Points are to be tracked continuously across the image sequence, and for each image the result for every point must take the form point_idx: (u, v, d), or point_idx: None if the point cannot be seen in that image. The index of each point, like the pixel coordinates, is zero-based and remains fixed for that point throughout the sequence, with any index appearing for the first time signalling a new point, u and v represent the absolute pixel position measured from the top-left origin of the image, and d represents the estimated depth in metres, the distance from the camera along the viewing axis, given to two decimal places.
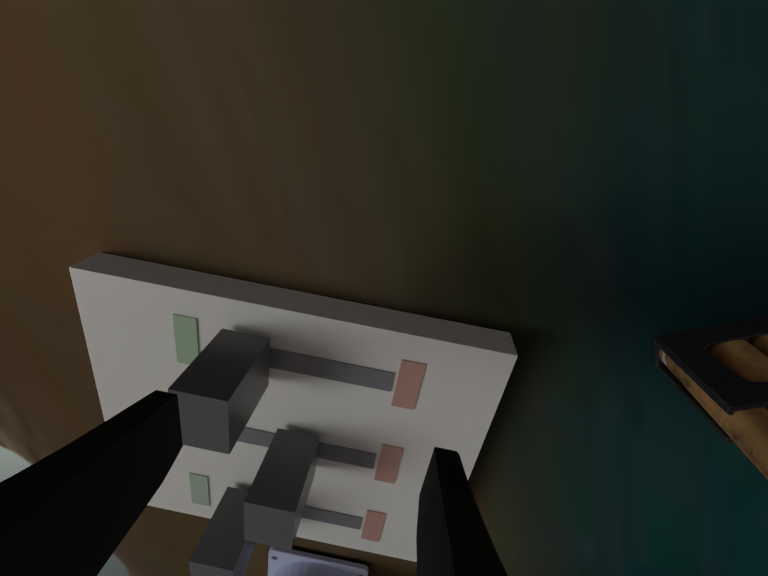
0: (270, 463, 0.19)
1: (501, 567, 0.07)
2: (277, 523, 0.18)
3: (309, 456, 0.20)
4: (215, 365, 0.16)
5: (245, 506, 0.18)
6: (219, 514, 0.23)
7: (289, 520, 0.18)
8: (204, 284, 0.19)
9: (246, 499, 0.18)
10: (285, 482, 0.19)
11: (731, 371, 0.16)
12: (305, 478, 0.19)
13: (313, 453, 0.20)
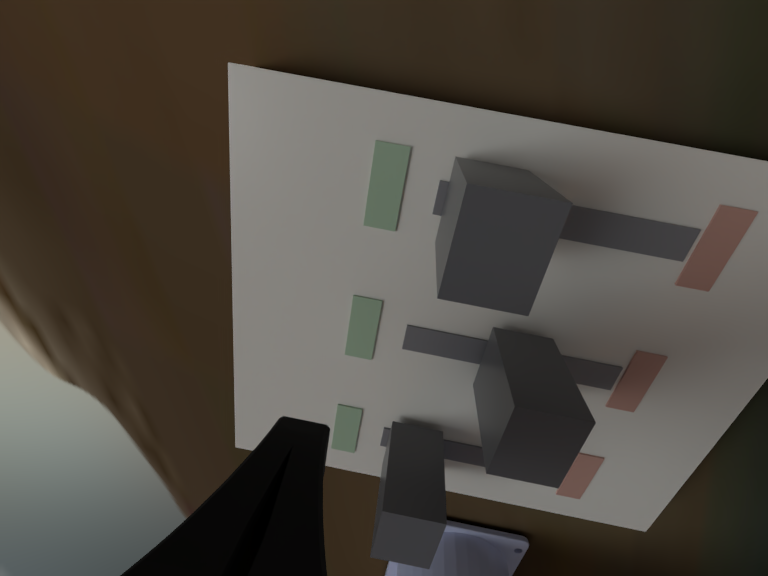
0: (514, 363, 0.13)
1: (318, 528, 0.07)
2: (556, 443, 0.12)
3: (558, 358, 0.14)
4: (497, 176, 0.10)
5: (514, 414, 0.11)
6: (397, 452, 0.16)
7: (579, 437, 0.12)
8: None
9: (516, 403, 0.11)
10: (551, 385, 0.12)
11: None
12: (574, 383, 0.13)
13: (559, 356, 0.14)
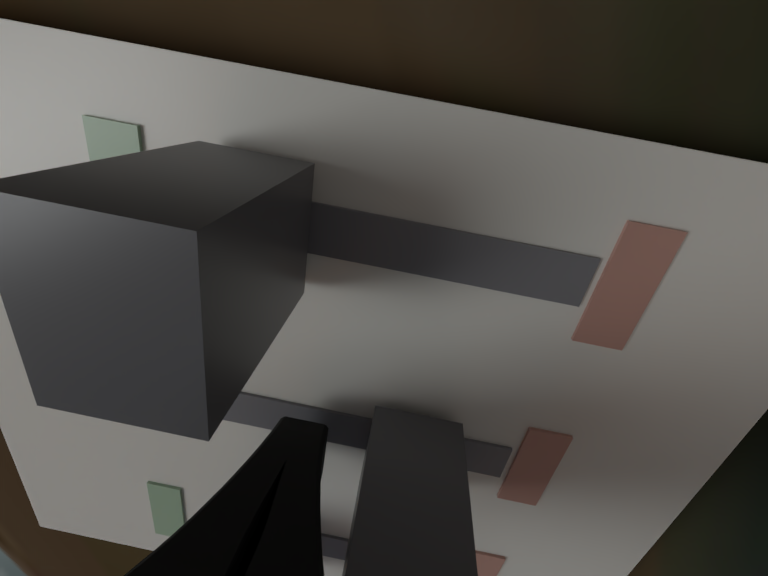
0: (381, 482, 0.08)
1: (316, 528, 0.07)
2: None
3: (458, 465, 0.09)
4: (166, 172, 0.05)
5: None
6: None
7: None
8: (159, 48, 0.08)
9: None
10: (428, 529, 0.08)
11: None
12: (469, 518, 0.08)
13: (463, 458, 0.09)
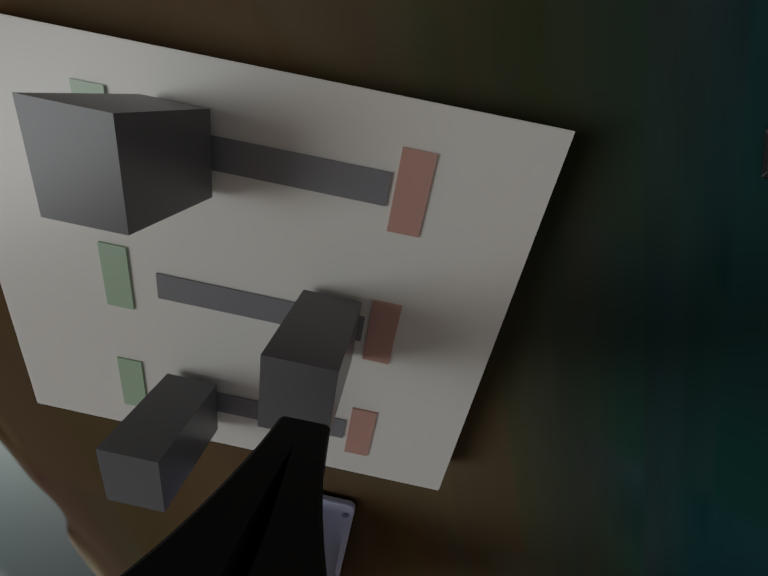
0: (296, 320, 0.13)
1: (318, 529, 0.07)
2: (310, 393, 0.12)
3: (351, 318, 0.14)
4: (109, 100, 0.10)
5: (262, 363, 0.12)
6: (151, 400, 0.17)
7: (329, 387, 0.12)
8: (118, 37, 0.13)
9: (264, 352, 0.12)
10: (320, 339, 0.13)
11: None
12: (348, 338, 0.13)
13: (355, 316, 0.14)
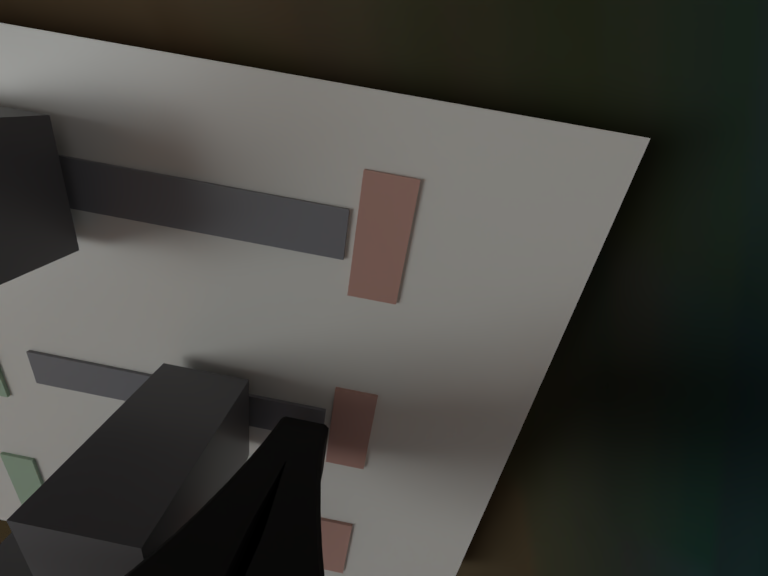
0: (120, 428, 0.09)
1: (316, 528, 0.07)
2: (107, 573, 0.07)
3: (217, 415, 0.09)
4: None
5: (16, 531, 0.07)
6: None
7: (133, 567, 0.07)
8: None
9: (17, 513, 0.07)
10: (141, 469, 0.08)
11: None
12: (195, 461, 0.08)
13: (228, 410, 0.10)
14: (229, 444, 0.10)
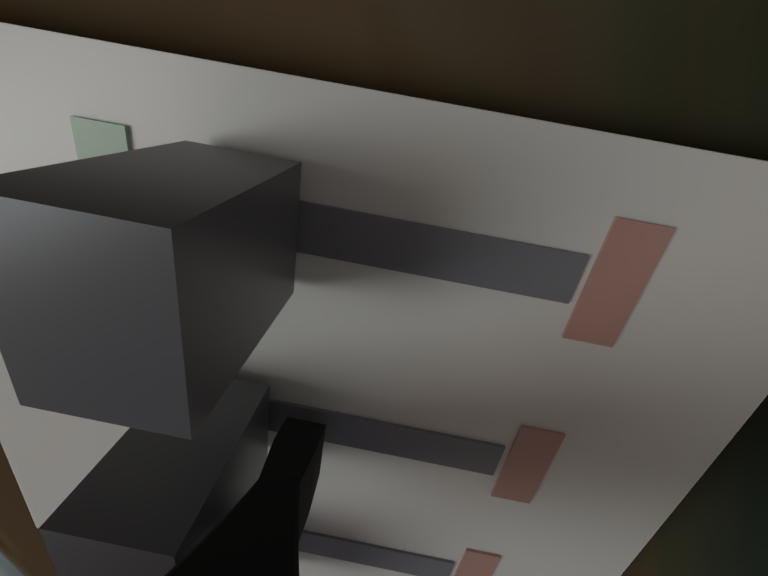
0: (145, 434, 0.09)
1: (293, 523, 0.07)
2: None
3: (240, 421, 0.09)
4: (148, 171, 0.05)
5: (47, 539, 0.07)
6: None
7: None
8: (146, 48, 0.08)
9: (49, 521, 0.07)
10: (169, 476, 0.08)
11: None
12: (221, 467, 0.08)
13: (250, 415, 0.10)
14: (251, 449, 0.10)
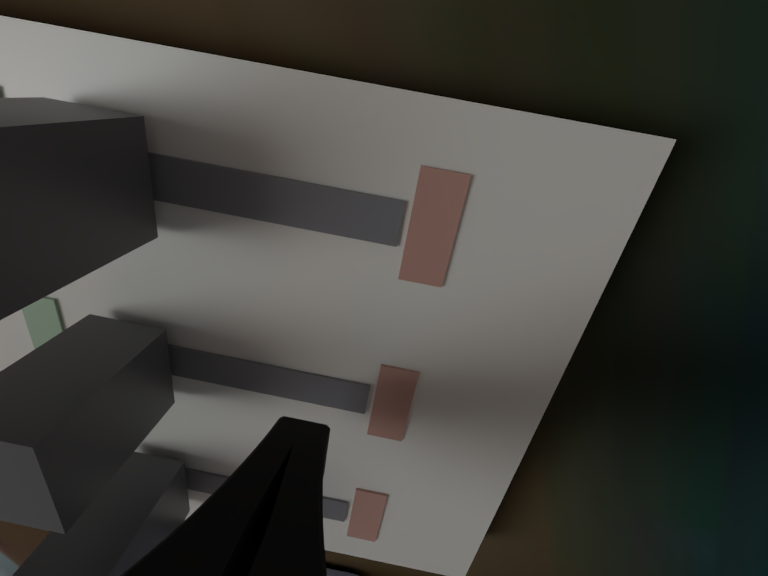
0: (36, 362, 0.10)
1: (318, 528, 0.07)
2: (10, 474, 0.08)
3: (128, 355, 0.10)
4: None
5: None
6: None
7: (31, 467, 0.08)
8: None
9: None
10: (47, 392, 0.09)
11: None
12: (98, 388, 0.09)
13: (139, 351, 0.11)
14: (144, 384, 0.11)
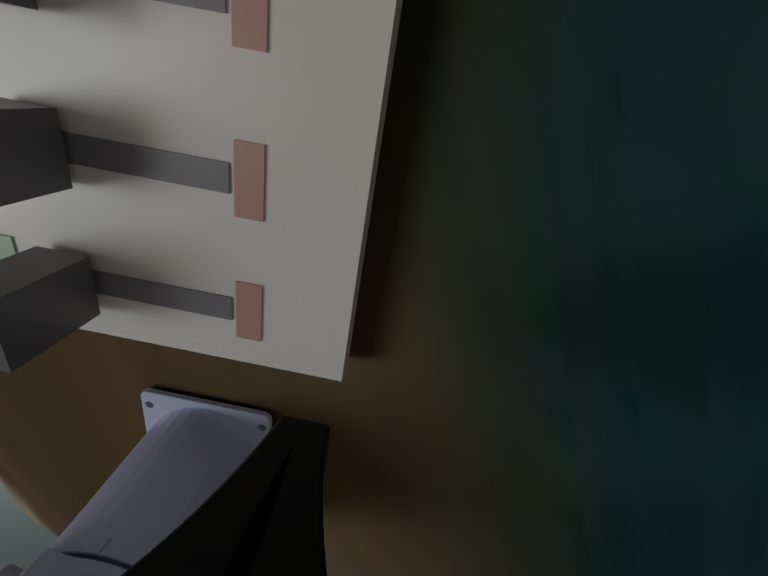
0: None
1: (318, 529, 0.07)
2: None
3: (15, 107, 0.13)
4: None
5: None
6: (5, 262, 0.15)
7: None
8: None
9: None
10: None
11: None
12: None
13: (27, 109, 0.13)
14: (34, 143, 0.14)
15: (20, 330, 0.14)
